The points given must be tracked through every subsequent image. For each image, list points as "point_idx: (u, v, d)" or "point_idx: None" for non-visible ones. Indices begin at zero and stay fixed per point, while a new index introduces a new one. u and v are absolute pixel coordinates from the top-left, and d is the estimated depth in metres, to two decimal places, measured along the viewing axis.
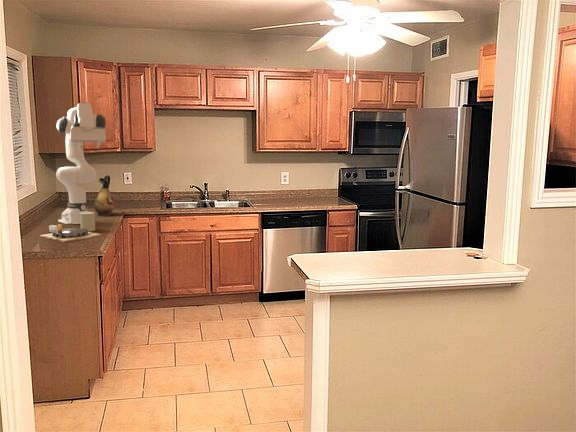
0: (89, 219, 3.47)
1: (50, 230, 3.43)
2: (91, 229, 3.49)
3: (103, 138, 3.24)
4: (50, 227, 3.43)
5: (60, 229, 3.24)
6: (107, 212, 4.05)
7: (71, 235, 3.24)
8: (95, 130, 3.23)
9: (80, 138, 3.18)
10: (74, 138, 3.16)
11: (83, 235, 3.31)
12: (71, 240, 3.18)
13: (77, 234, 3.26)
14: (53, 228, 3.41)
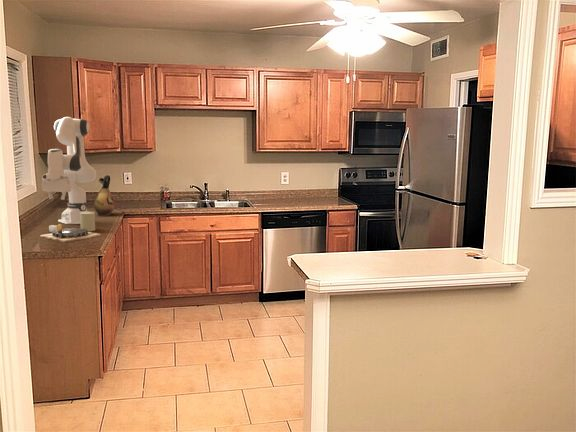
0: (89, 219, 3.47)
1: (50, 230, 3.43)
2: (91, 229, 3.49)
3: (64, 190, 3.19)
4: (50, 227, 3.43)
5: (60, 229, 3.24)
6: (107, 212, 4.05)
7: (71, 235, 3.24)
8: (59, 181, 3.20)
9: (48, 190, 3.24)
10: (44, 189, 3.26)
11: (83, 235, 3.31)
12: (71, 240, 3.18)
13: (77, 234, 3.26)
14: (53, 228, 3.41)
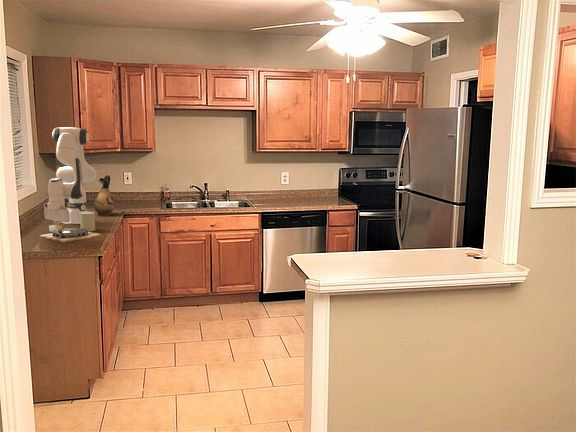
0: (89, 219, 3.47)
1: (50, 230, 3.43)
2: (91, 229, 3.49)
3: (63, 220, 3.21)
4: (50, 227, 3.43)
5: (60, 229, 3.24)
6: (107, 212, 4.05)
7: (71, 235, 3.24)
8: (59, 211, 3.22)
9: (50, 218, 3.28)
10: (46, 218, 3.29)
11: (83, 235, 3.31)
12: (71, 240, 3.18)
13: (77, 234, 3.26)
14: (53, 228, 3.41)
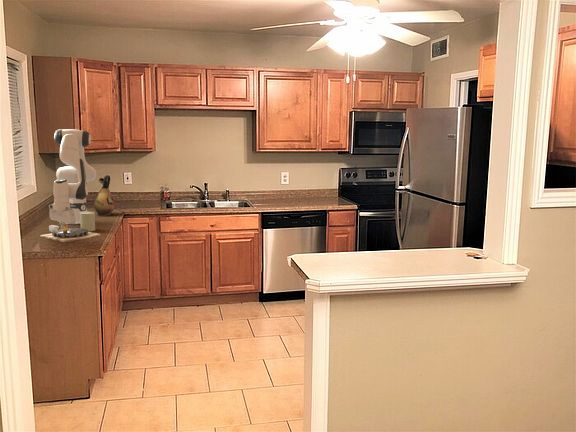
0: (89, 219, 3.47)
1: (50, 230, 3.43)
2: (91, 229, 3.49)
3: (69, 222, 3.18)
4: (50, 227, 3.43)
5: (66, 229, 3.24)
6: (107, 212, 4.05)
7: (79, 234, 3.27)
8: (64, 212, 3.19)
9: (55, 219, 3.25)
10: (51, 219, 3.27)
11: None
12: (71, 240, 3.18)
13: None
14: (53, 228, 3.41)
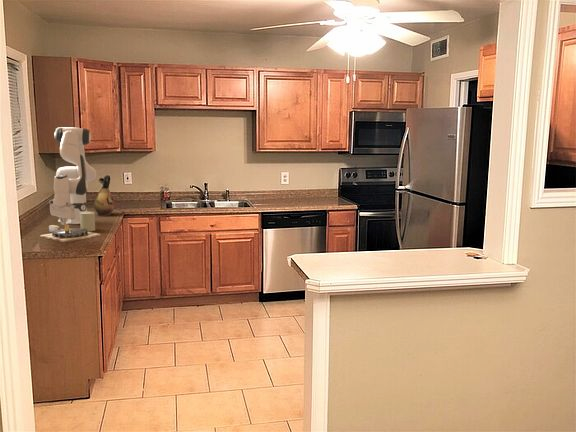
0: (89, 219, 3.47)
1: (50, 230, 3.43)
2: (91, 229, 3.49)
3: (69, 217, 3.18)
4: (50, 227, 3.43)
5: (68, 229, 3.24)
6: (107, 212, 4.05)
7: (81, 234, 3.28)
8: (64, 208, 3.19)
9: (55, 215, 3.25)
10: (52, 214, 3.27)
11: None
12: (71, 240, 3.18)
13: (84, 232, 3.31)
14: (53, 228, 3.41)
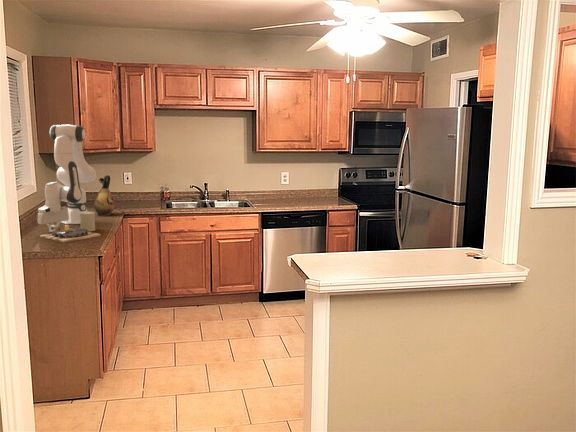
0: (89, 219, 3.47)
1: (50, 230, 3.43)
2: (91, 229, 3.49)
3: (67, 219, 3.49)
4: None
5: (68, 229, 3.24)
6: (107, 212, 4.05)
7: (81, 234, 3.28)
8: (61, 212, 3.44)
9: (48, 222, 3.38)
10: (44, 223, 3.35)
11: None
12: (71, 240, 3.18)
13: (84, 232, 3.31)
14: (53, 228, 3.41)
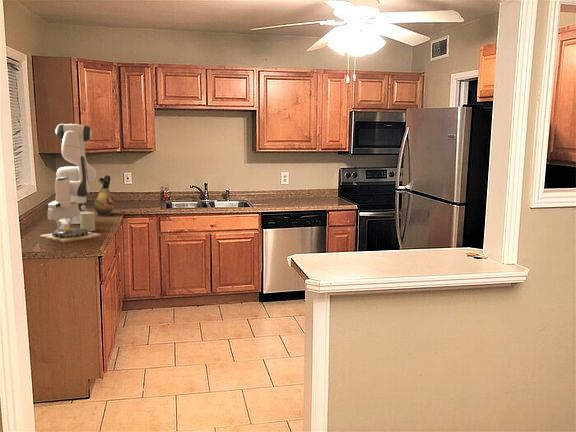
0: (89, 219, 3.47)
1: (60, 228, 3.34)
2: (91, 229, 3.49)
3: (77, 215, 3.39)
4: None
5: (68, 229, 3.24)
6: (107, 212, 4.05)
7: (81, 234, 3.28)
8: (71, 207, 3.35)
9: (59, 217, 3.28)
10: (54, 218, 3.25)
11: None
12: (71, 240, 3.18)
13: (84, 232, 3.31)
14: (64, 226, 3.32)
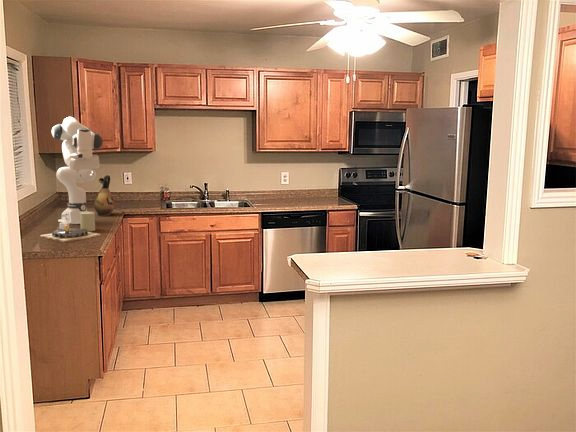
0: (89, 219, 3.47)
1: (60, 228, 3.34)
2: (91, 229, 3.49)
3: (98, 167, 3.50)
4: (60, 225, 3.33)
5: (68, 229, 3.24)
6: (107, 212, 4.05)
7: (81, 234, 3.28)
8: (92, 159, 3.46)
9: (81, 168, 3.39)
10: (76, 168, 3.36)
11: None
12: (71, 240, 3.18)
13: (84, 232, 3.31)
14: (64, 226, 3.32)
